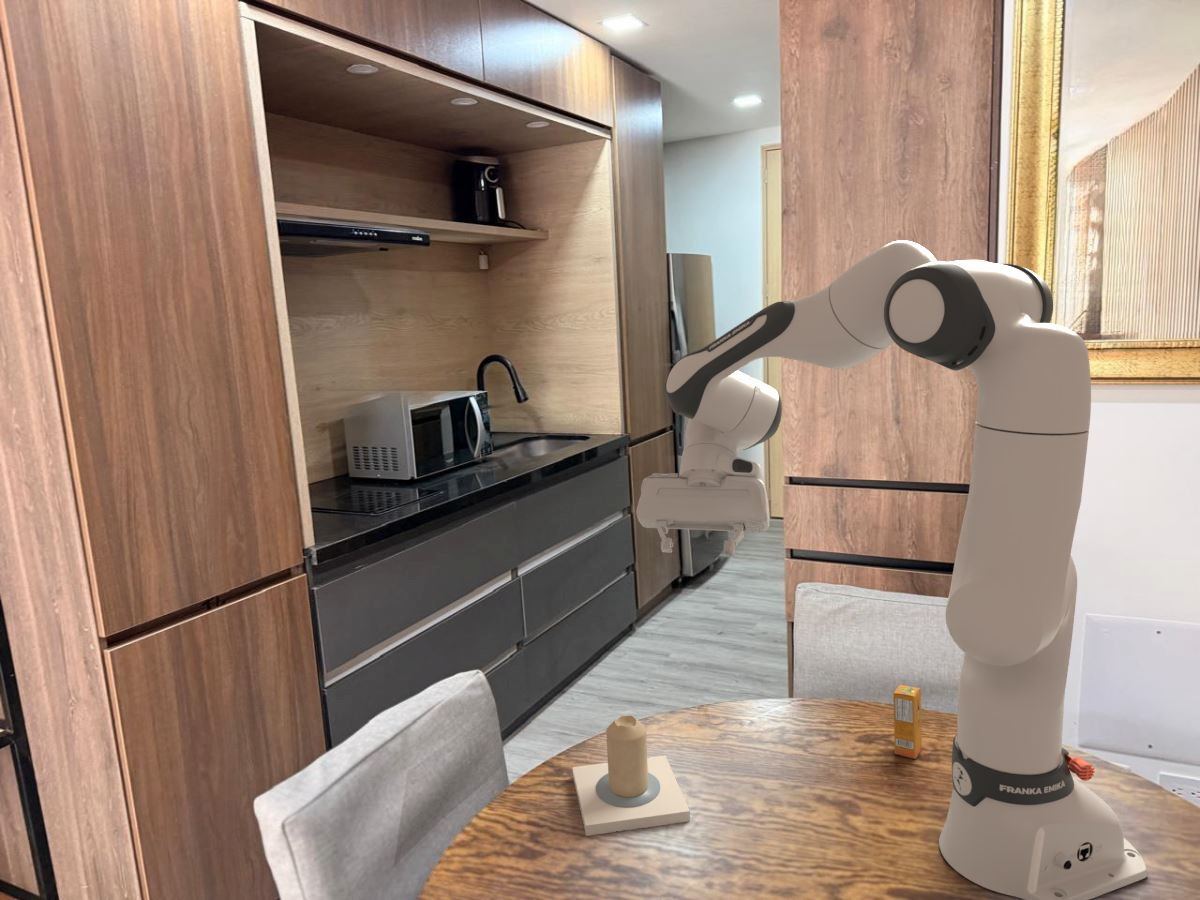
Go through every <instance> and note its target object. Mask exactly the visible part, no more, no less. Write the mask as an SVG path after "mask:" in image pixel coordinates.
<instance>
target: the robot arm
mask: <svg viewBox="0 0 1200 900" xmlns="http://www.w3.org/2000/svg"><path fill="white" fill-rule="evenodd" d="M1053 312H1054V298H1053V295H1052V291H1051V289H1050V286H1049V285H1048V284H1047V282H1046V281H1045V280H1044V279H1043V278H1042V277H1041V276H1040V275H1039V274H1037V273H1035V272H1034V271H1032V270H1030V269H1028V268H1025V267H1023V266H1020V265H1018V264H1017V265H1016V264H1012V263H996V262H995V263H994V262H989V261H985V260H981V259H962V260H961V259H960V260H954V261H944V260H939V261H938V260H937V259H936V257H935V256H934V255H933V254H932V253H931V252H930V251H929V250H928V249H927V248H925V247H924V246H923V245H920V244H919V243H917V242H913V241H910V240H896V241H891V242H889V243H887V244H885V245H884V246H881V247H880V248H878V249H876V250H874V251H873V252H871V253H870V254H868V255H867V256H865V257H863V258H862V259H860V260H859V261H857V263H855V264H853V265H852V266H850V267H849V268H848V269H847V270H846V271H844V272H842V274H841V275H839V277H837V278H836V279H834V281H832V282H831V283H830V284H829V285H828V286H826V287H824V288H822V289H820V290H819V291H816V292H815V293H812V294H809V295H806V296H803V297H801V298H797V299H792V300H783V301H782V300H781V301H777V302H774V303H771V304H769V305H768V306H766V307H764V308H762V309H761V310H759V311H757V312H756V313H754V314H753V315H751V316H750V317H748V318H747V319H745V320H744V321H742V322H741V323H739V324H737V325H736V326H734V327H733V328H731V329H730V330H729V331H727V332H725V333H724V334H722V335H721V336H720V337H718V338H717V339H714V340H713V341H712V342H710V343H709V344H707V345H706V346H705V345H704V346H703V347H701V348H699V349H697V350H696V349H695V350H694V351H692V352H691V351H690V353H689V352H688V353H687V354H685V355H683V356H682V357H681V358H679V359H678V361H676V363H675V364H674V365H673V366H672V368H671V370H670V371H669V373H668V375H667V377H666V381H665V384H664V392H665V394H666V399H667V401H668V403H669V405H670V407H671V409H672V411H673V413H675V414H678V415H680V416H682V417H685V418H688V419H687V423H686V429H685V440H686V445H685V446H684V448H683V451H682V455H681V462H680V467H679V473H677V472H676V473H674V472H673V473H660V472H654V473H653V472H652V474H651V475H648V476H646V477H645V478H643V480H642V482H641V486H640V497H639V499H638V503H637V506H636V513H635V514H636V517H637V520H638V522H639V523H640V525H641V526H642V527H643V528H645V529H646V528H647V529H656V530H657V531H658V534H659V537H660V539H661V542H660V549H661V553H667V554H669V553H670V554H672V553H673V548H674V541H673V539H672V537H667V536H666V534H669V530H670V529H674V530H695V531H697V530H698V531H699V530H700V531H718V532H719V531H721V532H734V533H733V535H732V536H731V538H730V539H729V540H726V539H725V540H723V541H724V542H723V550H722V551H723V554H724V556H727V557H729V556H730V557H735V555H736V554H735V553H736V547H738V545H740V543H741V541H743V539H744V538H745V533H747V532H748V533H764V532H765V531H767V530H768V529H769V527H770V508H769V500H768V499H769V498H768V493H767V488H766V485H765V477H764V472H763V470H762V467H761V465H760V464H759V462H755V461H752V460H748V459H745V458H741V457H740V456H739V457H738V454H739V452H740V451H741V450H743V451H746V450H749V449H751V448H753V447H756V446H758V445H760V444H762V443H764V442H767V441H768V440H770V439H771V438H772V437H774V436H775V434H776V433H777V431H778V429H779V427H780V423H781V420H782V417H783V416H782V414H783V403H782V398H781V394H780V393H779V391H778V390H777V389H775V388H773V386H771V385H769V384H767V383H765V382H763V381H761V380H759V379H757V378H755V377H754V376H751V375H748V374H746V373H744V372H742V371H741V370H740V369H742V368H744V367H746V366H747V365H749V364H750V363H753V362H754V361H757V360H759V359H763V358H783V359H789V360H794V361H799V362H803V363H807V364H812V365H814V366H815V365H816V366H819V367H822V368H827V369H835V370H843V369H844V370H845V369H850V368H853V367H857V366H859V365H861V364H864V363H866V362H869V360H872V359H873V358H875V357H877V356H878V355H879V354H880V353H882V352H883V351H885V350H886V349H887V348H889V346H891V345H893V344H894V343H895V344H896V346H898V347H899V348H900V349H902V350H904V351H905V352H907V353H909V354H912V355H914V356H915V357H918V358H922V359H924V360H927V361H931V362H932V363H935V364H937V365H940V366H942V367H944V368H946V369H949V370H951V371H955V372H956V371H957V372H958V371H960V370H963V369H965V368H968V369H969V370H970V372H972V373H973V375H974V377H975V379H976V384H977V390H978V391H977V403H976V404H977V406H976V412H975V413H976V416H975V425H974V434H973V435H974V436H973V445H972V446H973V448H972V458H971V459H972V460H971V471H970V481H969V489H968V490H969V491H968V496H967V502H966V506H965V510H964V515H963V518H962V519H963V520H962V523H961V527H960V532H959V537H958V543H957V547H956V552H955V553H956V554H955V559H954V565H953V571H952V578H951V583H950V589H949V594H948V598H947V601H946V602H947V603H946V609H945V622H946V628H947V629H948V633H949V634H950V637H951V638H952V640H953V642H954V643H955V644H956V645H957V646H958V648H960V650H961V651H962V652H964V653H963V658H962V659H963V660H962V664H961V667H960V672H959V677H958V683H957V685H958V686H957V687H958V688H957V690H958V691H957V718H956V719H957V723H956V724H957V725H956V734H955V736H954V737H953V740H952V753H951V754H952V755H951V780H952V792H951V798H950V804H949V807H948V808H949V809H948V812H947V816H946V819H945V823H944V825H943V828H942V830H941V833H940V836H939V839H938V845H939V850H940V852H941V854H942V856H943V858H944V860H945V861H946V862H947V863H948V864H949V865H950V866H951V867H952V868H953V869H954V871H956V872H957V873H959V874H960V875H961V876H963V877H964V878H966V879H968V881H971V882H972V883H975V884H976V885H978V886H981V887H982V888H984V889H988V890H991V891H994V892H996V893H999V894H1002V895H1007V896H1011V897H1016V898H1020V899H1023V900H1091V899H1095V898H1097V897H1100V896H1102V895H1105V894H1108V893H1110V892H1112V891H1115V890H1118V889H1120V888H1123V887H1126V886H1129V885H1131V884H1134V883H1136V882H1138V881H1141V880H1144V879H1146V878H1147V876H1148V869H1147V865H1146V863H1145V861H1144V858H1143V857H1142V856H1141V854H1140V853H1139V851H1138V850H1137V849H1136V847H1134V846H1133V845H1132V844H1131V842H1129V841H1128V840H1127V838H1125V836H1124V832H1123V828H1122V824H1121V822H1120V820H1119V817H1118V815H1116V813H1115V812H1114V810H1113V808H1111V807H1110V806H1109V805H1108V803H1107V802H1105V800H1103V799H1102V797H1100V796H1099V795H1097V794H1096V793H1094V792H1093V790H1091V789H1089V788H1088V787H1087V786H1086V785H1084V784H1082V783H1081V782H1080V781H1079V780H1077V779H1076V778H1074V777H1073V775H1072V773H1073V774H1074V775H1076V776H1077V778H1079V779H1080V780H1081V781H1084V782H1085V781H1089V780H1091V779H1092V777H1094V775H1095V774H1094V773H1095V767H1094V766H1093V765H1092V764H1090V763H1088V762H1087V761H1085V760H1084V759H1083V758H1082V757H1079V756H1075V757H1072V756H1071V755H1070V753H1069V751H1068V750H1067V749H1065V748H1064V747H1063V733H1064V732H1063V730H1064V713H1065V712H1064V710H1065V695H1066V687H1067V679H1068V672H1069V665H1070V658H1071V656H1070V655H1071V648H1072V641H1073V632H1074V622H1075V621H1074V620H1075V613H1076V602H1077V595H1078V594H1077V592H1078V573H1077V568H1076V565H1075V561H1074V559H1073V557H1072V555H1071V553H1072V549H1073V542H1074V537H1075V533H1076V526H1077V522H1078V516H1079V513H1080V512H1079V511H1080V507H1081V503H1082V495H1083V486H1084V477H1085V468H1086V463H1087V462H1086V461H1087V451H1088V442H1089V432H1090V425H1091V424H1090V423H1091V411H1092V380H1091V379H1092V378H1091V366H1090V359H1089V357H1090V356H1089V351H1088V346H1087V345H1086V342H1085V341H1084V339H1083V338H1082V336H1080V335H1079V334H1078V333H1076V332H1075V331H1073V330H1072V329H1070V328H1068V327H1066V326H1062V325H1059V324H1055V323H1050V322H1051V320H1052V317H1053Z"/></svg>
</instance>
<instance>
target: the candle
mask: <svg viewBox="0 0 1200 900" xmlns="http://www.w3.org/2000/svg"><path fill="white" fill-rule="evenodd" d="M605 733H606V749H607V750H606V752H607V755H606V756H607V763H608V776H609V787H610V790H611V792H612V793H613V794H615V795H617V796H620V797H626V798H630V797H636V796H639V795H641V794H643V793H644V792H645V791H646V790H647V788H648V763H647V758H648V745H647V743H648V742H647V741H648V740H647V739H648V738H647V728H646V726H645V725H644V724H643V723H642V722H640V721H639V720H638V719H636V717H634V716H633V715H622V716H620V717H618V718H617V719H614V720H613V722H612V723H610V724H609V725H608V727H607V728H606V731H605Z"/></svg>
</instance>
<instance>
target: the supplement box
mask: <svg viewBox="0 0 1200 900" xmlns="http://www.w3.org/2000/svg"><path fill="white" fill-rule="evenodd" d="M921 693H922V692H921V688H920V687H915V686H909V685H904V684H903V685H902V684H899V685H898V686H897V688H896V689H895V691H894V692H893V693H892V694H893V695H892V696H893V697H892V699H893V729H894V730H893V733H894V734H893V735H894V754H895V755H898V756H901V757H905V758H910V759H915V760H916V759H917V757H918V756H919V754H920V753H921V751H922V744H923V743H922V742H923V741H922V696H921V695H922V694H921Z"/></svg>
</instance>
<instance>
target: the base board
mask: <svg viewBox="0 0 1200 900" xmlns="http://www.w3.org/2000/svg"><path fill="white" fill-rule="evenodd" d="M647 763H648V788H647V790H646V791H645V792H644V793H643V794H641V795H639V796H636V797H630V798H626V797H620V796H617V795H615V794H613V793H612V792H611V790H610V787H609V776H608V762H604V763H603V762H602V763H594V764H589V765H579V766H573V767H572V779H573V783H574V788H575V791H576V796H577V801H578V806H579V810H580V815H581V819H582V824H584V825H583V827H584V833H585V837H589V836H595V835H596V836H597V835H603V834H608V833H609V834H610V833H617V832H616V831H618V832H623V830H625V831H631V830H638V828H639V829H644V828H652V827H660V826H666V825H672V824H680V823H681V824H682V823H688V822H691V811H690V808H689V806H688V804H687V801H686V799H685V797H684V795H683V793H682V790H681V788H680V786H679V783H678V782H677V779H676V776H675V774H674V772H673V769H672V767H671V765H670V762H669V761H668V758H667V756H666V754H664V755H658V756H650V757H648V756H647Z"/></svg>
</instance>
